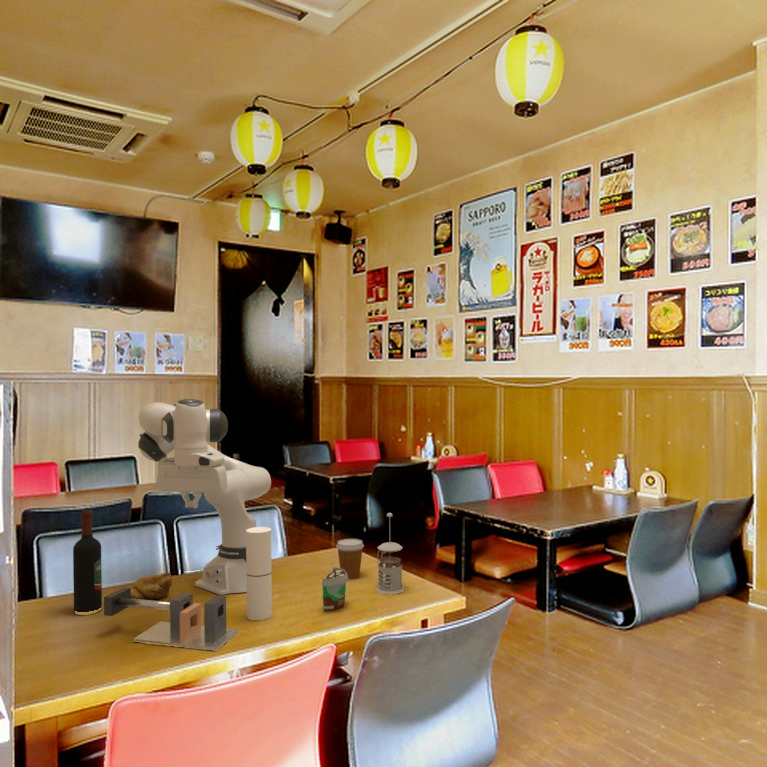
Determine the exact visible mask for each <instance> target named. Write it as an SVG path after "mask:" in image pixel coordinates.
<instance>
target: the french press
mask: <svg viewBox="0 0 767 767" xmlns="http://www.w3.org/2000/svg"><path fill="white" fill-rule="evenodd" d="M386 517H388V518H389V521H388V522H389V523H388V524H389V532H388V533H389V534H388V536H389V539H391V518H393V513H391V512H388V513H387V514H386ZM377 549H378V552H377V565H378V567H377V568H378V570H377V571H378V574H377V575H378V578H377V579H378V586H377V587H376V588H375V590H376V591H377V592H376V593H378V592H379V593H378V594H380V593H382V594H381V595H385V594H395V595H397V594H396V593H400V592H402V591H404V588H405V587H404V586H403V563H401V561H402V559H401V558H399V557H395V556H384V557H383V555H384V554H386V553H395V552H400V551H402V549H403V546H402V545H400V544H399V543H397V542H393V541H389V542H383V543H381V544H380V545H379V546H377ZM380 551H381V558H379V553H380ZM394 566H395V567H394ZM404 592H405V591H404ZM400 594H401V593H400Z"/></svg>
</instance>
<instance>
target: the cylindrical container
mask: <svg viewBox="0 0 767 767" xmlns="http://www.w3.org/2000/svg"><path fill="white" fill-rule="evenodd" d="M246 578H247V592H246V618H247V620H249V619H250V620H249V621H254V620H260V621H264V619H265V620H268V619H270V618H271V617H272V616H273V599H272V597H273V595H272V593H273V591H272V590H273V589H272V582H273V580H272V578H273V577H272V528H271V527H266V526H256V527H254V528H249V529H247V530H246ZM267 618H268V619H267Z"/></svg>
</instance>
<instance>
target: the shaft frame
mask: <svg viewBox="0 0 767 767" xmlns="http://www.w3.org/2000/svg"><path fill="white" fill-rule="evenodd" d="M193 595H194V594H193V593H191V592H181V593H180V594H178V595H176V596H174V597H173V598H171V599H170V600H169V602H170V610H169V622H168V621H159V622H157V623H155V624H154V625H153V626H151V627H149V628H147V630H145V631H143V632H141V633H140V634H139V635H137V636H135V637H134V638H133V639H132V641H141V642H150V643H159V644H168V645H177V646H182V647H189V648H197V649H205V650H215V651H216V650H218V649H219V648H220V647H221V646H222V647H224V646H225V645H226V644H227V643H228V642H229V641H231V640H232V639H233V638H234V637H236V636H237V635H238V634H239V630H240V629H239V628H230V627H229V628H228V627H227V596H226V595H219V594H216V595H214V596H212V597H211V598H210V599H208V600H206V601H205V602H204V603H203V604H204V605H203V607H204V608H203V610H204V611H203V612H204V614H203V616H204V618H203V620H204V622H203V623H204V625H202V624H201V630H200V631H198V632H197V633H196V634H194V635H193V636H192V637H190V638H189V639H188V640H182V639H180V612H181V611H183V610H184V609H186V608H187V607H189V606H191V605H192V604H194V603H193V602H194V599H193V597H194V596H193ZM190 625H191V617H190ZM237 633H238V634H237ZM236 634H237V635H236ZM233 636H234V637H233ZM232 637H233V638H232ZM231 638H232V639H231ZM230 639H231V640H230ZM226 642H227V643H226ZM225 643H226V644H225ZM224 644H225V645H224ZM223 645H224V646H223ZM222 647H221V648H222ZM221 648H220V649H221ZM220 649H219V650H220ZM205 650H204V651H205ZM219 650H218V651H219ZM215 651H214V652H215ZM216 652H217V651H216Z"/></svg>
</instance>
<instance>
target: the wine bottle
mask: <svg viewBox="0 0 767 767" xmlns="http://www.w3.org/2000/svg"><path fill="white" fill-rule="evenodd" d="M80 514H81V537H80V539H79V540H77V542H75V544H74V545H73V548H72V556H73V557H72V562H73V563H72V566H73V567H72V570H73V572H72V573H73V576H72V578H73V580H72V581H73V612H74V611H77V612H89V611H94V610H98V609H99V608H101V607H102V608H103V600H102V598H103V597H102V596H103V595H102V594H103V591H102V590H103V589H102V588H103V587H102V585H103V584H102V583H103V582H102V575H103V574H102V543H100V541H99V540H98V539H97V538H95V537H94V535H93V510H92V509H84V510H83V509H82V510H81V513H80Z"/></svg>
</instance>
